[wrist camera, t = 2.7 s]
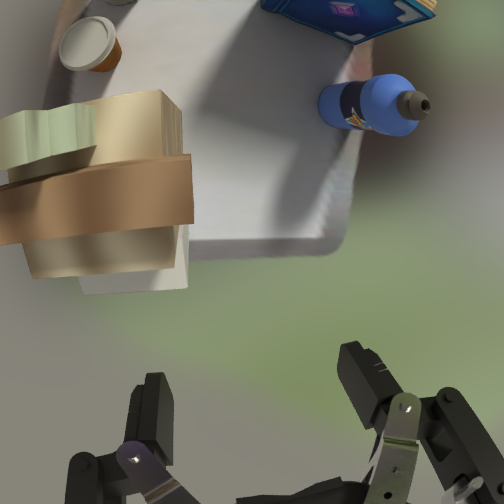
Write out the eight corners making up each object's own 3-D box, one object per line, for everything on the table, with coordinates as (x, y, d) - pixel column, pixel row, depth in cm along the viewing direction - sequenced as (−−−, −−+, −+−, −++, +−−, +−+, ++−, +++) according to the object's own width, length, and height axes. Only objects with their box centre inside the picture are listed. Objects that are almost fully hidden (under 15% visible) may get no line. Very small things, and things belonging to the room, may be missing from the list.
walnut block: (-44, 239, 17) (-65, 256, 14) (-52, 202, 16) (-76, 216, 12) (193, 206, 22) (193, 223, 18) (191, 153, 20) (189, 159, 16)
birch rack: (112, 194, 50) (-1, 324, 15) (106, 120, 44) (-50, 135, 9) (184, 186, 52) (169, 320, 17) (181, 111, 46) (144, 72, 11)
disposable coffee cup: (73, 65, 37) (45, 54, 27) (106, 26, 35) (86, 5, 25) (106, 89, 41) (83, 81, 30) (140, 49, 39) (126, 30, 29)
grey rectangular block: (115, 239, 53) (83, 295, 35) (109, 204, 50) (70, 248, 32) (188, 232, 56) (187, 287, 37) (186, 196, 53) (181, 237, 34)
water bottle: (328, 75, 47) (412, 56, 25) (365, 99, 50) (455, 100, 28) (309, 114, 50) (388, 114, 28) (347, 137, 53) (434, 154, 31)
